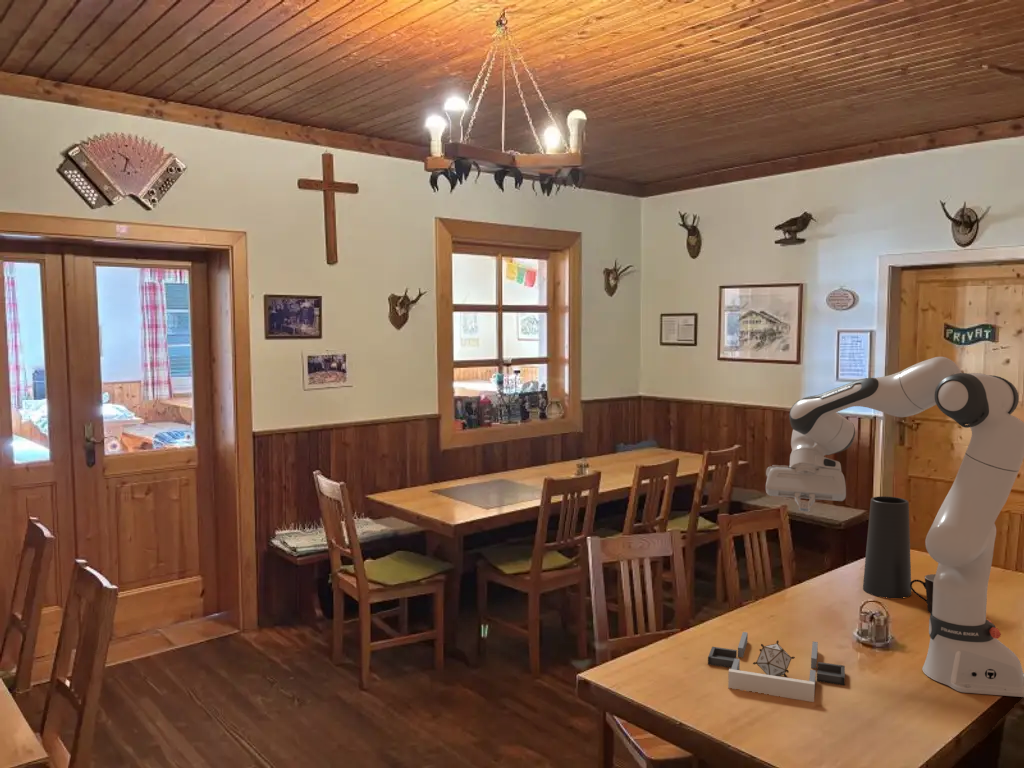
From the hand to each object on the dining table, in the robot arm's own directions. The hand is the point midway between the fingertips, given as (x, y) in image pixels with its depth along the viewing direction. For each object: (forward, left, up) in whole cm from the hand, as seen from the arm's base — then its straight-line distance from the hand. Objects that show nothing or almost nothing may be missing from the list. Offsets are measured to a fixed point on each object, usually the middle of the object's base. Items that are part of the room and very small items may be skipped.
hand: (804, 510), depth 210 cm
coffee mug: (-35, -35, -35) cm, 60 cm away
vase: (-23, -49, -35) cm, 64 cm away
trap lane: (+5, +22, -34) cm, 41 cm away
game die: (+5, +28, -35) cm, 45 cm away
